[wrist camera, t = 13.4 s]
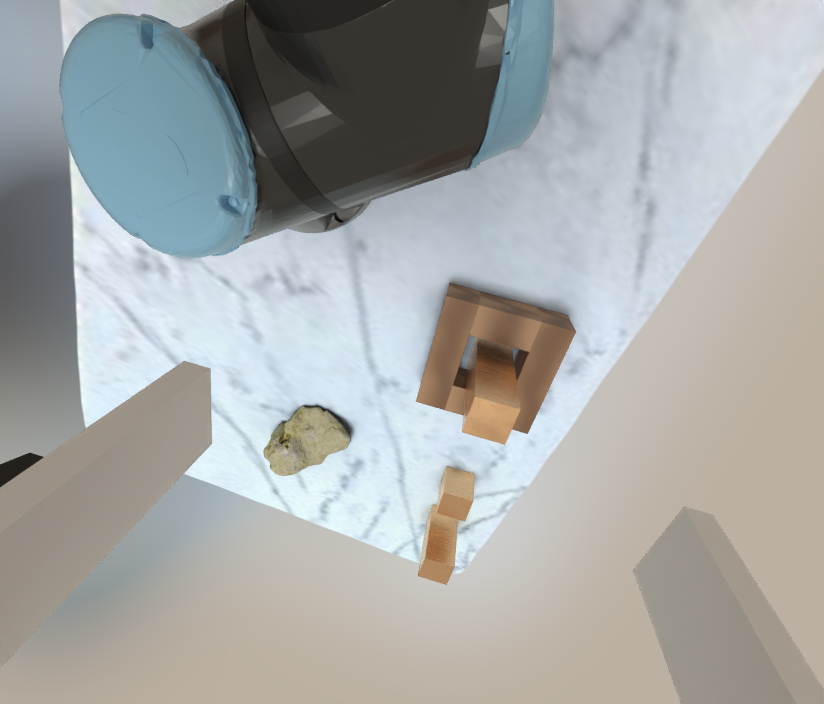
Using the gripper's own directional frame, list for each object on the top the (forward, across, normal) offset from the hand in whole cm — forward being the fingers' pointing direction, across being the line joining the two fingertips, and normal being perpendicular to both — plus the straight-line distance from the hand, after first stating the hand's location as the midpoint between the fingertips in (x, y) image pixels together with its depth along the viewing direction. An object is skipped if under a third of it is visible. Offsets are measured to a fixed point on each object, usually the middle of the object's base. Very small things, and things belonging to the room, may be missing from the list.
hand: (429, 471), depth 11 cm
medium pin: (+35, +8, -41) cm, 54 cm away
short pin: (+35, +8, -33) cm, 49 cm away
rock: (+35, -14, -32) cm, 50 cm away
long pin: (+35, +6, -12) cm, 37 cm away
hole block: (+35, +6, -12) cm, 37 cm away
